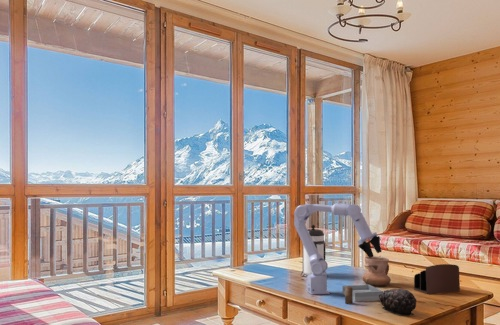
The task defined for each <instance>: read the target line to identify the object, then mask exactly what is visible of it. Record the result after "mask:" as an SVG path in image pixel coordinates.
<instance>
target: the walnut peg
mask: <svg viewBox="0 0 500 325" xmlns="http://www.w3.org/2000/svg"><path fill="white" fill-rule="evenodd" d="M344 299H345V302H344V303H345V304H346V305H353V302H354V301H353V288H352V287H345V295H344Z"/></svg>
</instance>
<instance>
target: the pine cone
mask: <svg viewBox="0 0 500 325" xmlns="http://www.w3.org/2000/svg"><path fill="white" fill-rule="evenodd" d="M379 299H380V300H379V301H380V304H381V305H382V308H381V309H382V310H384V311H387V313H392V314H394V315H398V316H408V317H409V316H413V315H415V314H414V313H413V311H414V310H416V308H417V298H416V296H415V295H414V294H413V293H412V292H411V291H410V290H408V289H404V288H399V289H398V288H393V289H392V288H391V289H385V290H383V293H381V294H379Z"/></svg>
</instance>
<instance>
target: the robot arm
mask: <svg viewBox="0 0 500 325" xmlns="http://www.w3.org/2000/svg"><path fill="white" fill-rule="evenodd" d="M316 212H323V213H327V212H328V213H332V214H333V215H334V216H341V217H342V216H344V217H348V216H349V217H350V218H351V221H352V223H353V225H354V227H355V230H356V231H357V232H358V235H359V237H360V239H358V240H357V241H356V242H357V244H358V248H359V249H361V250H362V251H363V252H364V253H365V254H366V256H367V257H369V258H371V257H373V256H374V253H373V250H372V249H371V248H372V247H373V249H374V251H375V252H376V253H377V254H379V253H382V251H383V250H382V247H381V243H380V242H381V236H380V235H378V234H377V232H372V231H371V228H370V227H369V224H368V222H367V220H366V218H365V217H364V215H363V213H362V208H361V206H360V205H358V204H355V203H354V204H351V203H349V202H348V203H341V202H339V201H338V202H336V203H334V204H333V205H327V204H319V203H313V204H312V203H311V204H300V205H298V206H296V208H295V210H294V212H293V215H294V218H293V219H294V222H293V226H294V228H295V230H296V233H297V234H298V237H299V238H300V240H301V242H302V246H303V245H304V247H305V249H306V251H307V253H308V256H309V261H310V264H311V271H312V274H311V275H307V276H306V291H307V292H308V293H309V295H330V293H331V292H329V291H328V285H327V284H328V282H327V281H328V276H327V274H328V273H327V271H326V270H327V269H328V263H327V261H326V259H325V260H324V259H323V258H322V256H321V255H320V254H319V253H318V251H317V249H316V246H315V244H314V242H313V240H312V238H311V236H310V234H309V232H308V230H307V229H308V228H307V226H306V223H307V221H308V219H309V218H310V217H311V215H312V214H314V213H316ZM371 245H372V247H371Z"/></svg>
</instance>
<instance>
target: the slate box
mask: <svg viewBox="0 0 500 325" xmlns="http://www.w3.org/2000/svg"><path fill="white" fill-rule="evenodd" d="M345 287H352V288H353V302H355V303H356V302H357V303H358V302H373V301H374V302H376V301H380V299H379V294H381V293H384V290H382V289H379V288H377V287H376V286H373V285H369V284H355V285H353V284H352V285H350V284H349V285H342V295H344V296H345Z"/></svg>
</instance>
